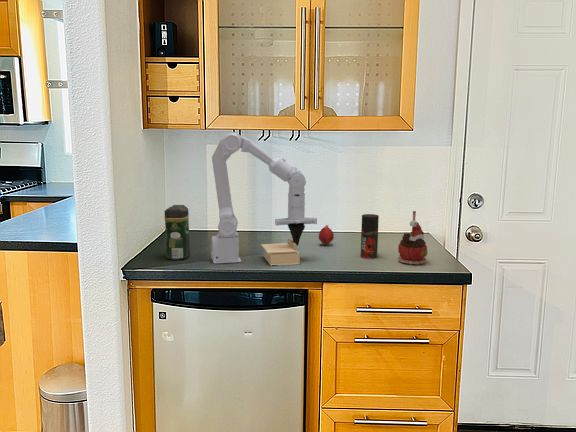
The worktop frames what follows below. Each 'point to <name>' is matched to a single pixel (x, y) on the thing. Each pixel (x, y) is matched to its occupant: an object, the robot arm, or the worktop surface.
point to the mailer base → (282, 258)
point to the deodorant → (369, 236)
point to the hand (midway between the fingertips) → (295, 244)
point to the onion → (326, 235)
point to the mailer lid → (280, 247)
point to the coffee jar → (177, 232)
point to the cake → (413, 245)
